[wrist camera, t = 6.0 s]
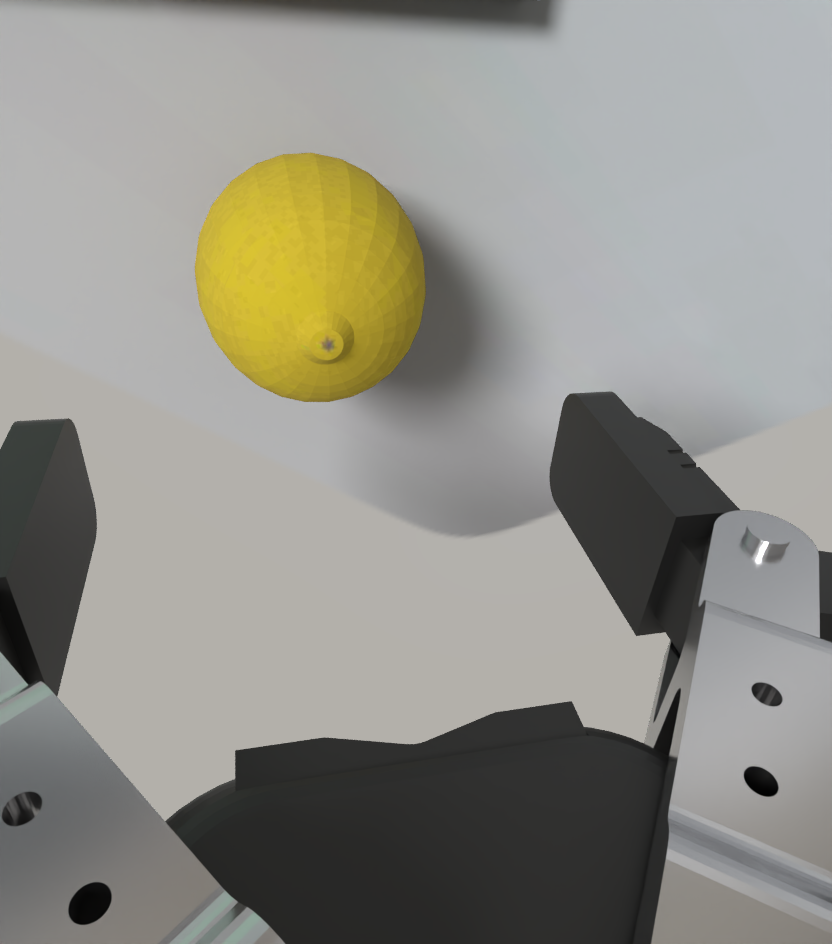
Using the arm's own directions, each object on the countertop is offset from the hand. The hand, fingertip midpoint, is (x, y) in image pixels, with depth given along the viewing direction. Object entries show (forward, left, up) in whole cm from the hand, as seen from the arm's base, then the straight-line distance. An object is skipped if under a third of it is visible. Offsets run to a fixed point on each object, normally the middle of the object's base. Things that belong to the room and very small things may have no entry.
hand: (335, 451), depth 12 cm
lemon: (0, 0, -12) cm, 12 cm away
